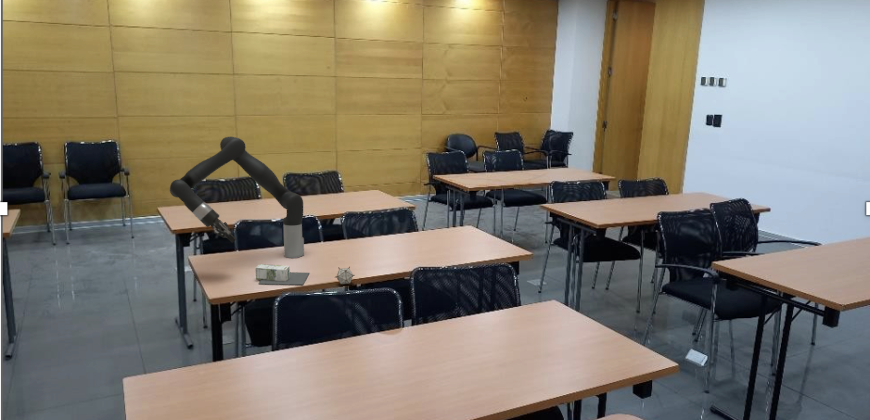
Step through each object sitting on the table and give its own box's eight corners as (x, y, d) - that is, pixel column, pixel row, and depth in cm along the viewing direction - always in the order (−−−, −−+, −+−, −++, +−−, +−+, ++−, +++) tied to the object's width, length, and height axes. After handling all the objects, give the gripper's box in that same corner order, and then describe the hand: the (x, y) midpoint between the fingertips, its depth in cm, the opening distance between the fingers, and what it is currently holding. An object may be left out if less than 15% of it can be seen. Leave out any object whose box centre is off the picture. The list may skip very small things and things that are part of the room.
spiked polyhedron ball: (347, 293, 284) (349, 281, 277) (330, 285, 285) (332, 273, 278) (356, 279, 290) (358, 266, 283) (339, 271, 291) (342, 258, 284)
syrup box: (260, 275, 292) (290, 277, 290) (255, 279, 286) (286, 281, 285) (259, 263, 290) (290, 265, 289) (255, 267, 285) (285, 269, 283)
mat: (258, 284, 281) (258, 283, 281) (267, 272, 297) (267, 271, 297) (302, 285, 282) (302, 284, 282) (309, 273, 297) (309, 272, 297)
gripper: (206, 212, 275) (235, 239, 278) (216, 205, 288) (244, 231, 291) (195, 223, 276) (224, 250, 279) (205, 216, 289) (233, 242, 292)
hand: (234, 241), depth 285 cm, fingers closed
